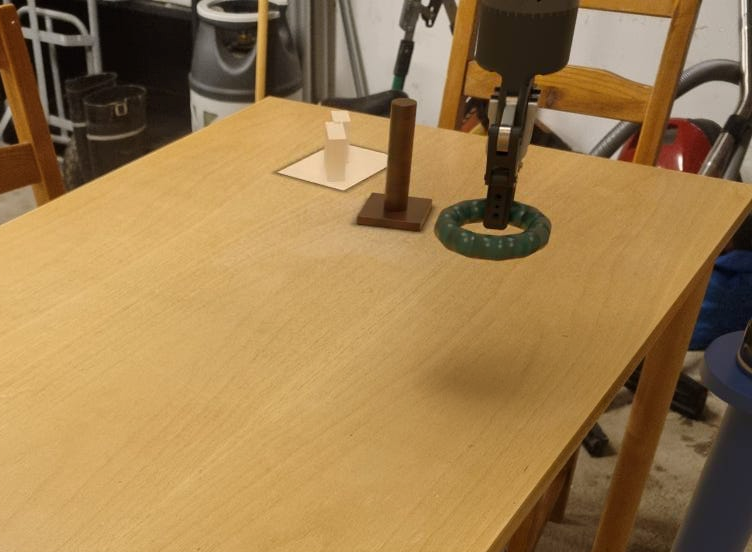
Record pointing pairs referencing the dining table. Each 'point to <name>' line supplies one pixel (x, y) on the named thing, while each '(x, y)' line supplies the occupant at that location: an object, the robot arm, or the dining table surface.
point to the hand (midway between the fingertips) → (497, 221)
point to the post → (398, 177)
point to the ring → (492, 245)
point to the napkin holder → (338, 158)
